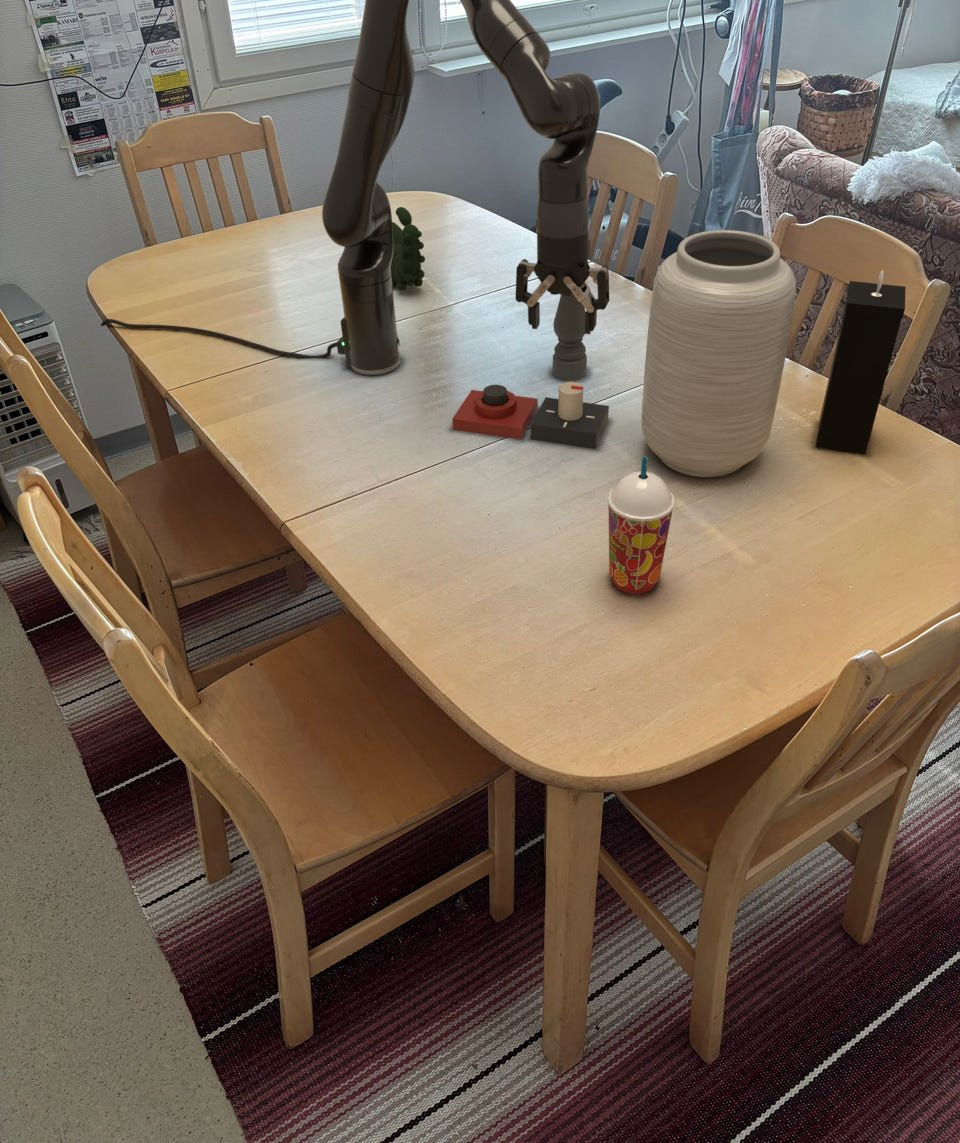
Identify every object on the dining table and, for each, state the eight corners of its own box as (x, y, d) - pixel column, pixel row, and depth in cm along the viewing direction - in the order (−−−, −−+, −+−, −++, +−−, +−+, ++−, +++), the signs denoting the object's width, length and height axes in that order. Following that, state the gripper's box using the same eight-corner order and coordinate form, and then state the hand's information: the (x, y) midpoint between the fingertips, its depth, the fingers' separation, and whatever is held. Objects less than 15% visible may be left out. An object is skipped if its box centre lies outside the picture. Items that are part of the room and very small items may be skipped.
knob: (555, 418, 158) (555, 390, 155) (561, 406, 161) (562, 378, 158) (579, 422, 157) (580, 393, 154) (585, 410, 160) (586, 381, 157)
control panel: (530, 439, 159) (530, 423, 157) (545, 412, 166) (545, 396, 164) (595, 449, 157) (596, 432, 154) (608, 421, 163) (609, 404, 161)
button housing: (453, 429, 163) (451, 409, 160) (472, 400, 170) (471, 380, 167) (521, 439, 159) (521, 419, 157) (537, 409, 167) (537, 389, 164)
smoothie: (598, 564, 134) (605, 442, 121) (657, 559, 135) (670, 437, 122) (609, 603, 128) (617, 479, 115) (671, 598, 128) (686, 474, 115)
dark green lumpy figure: (437, 300, 206) (392, 251, 221) (435, 214, 192) (386, 168, 208) (397, 310, 202) (353, 260, 218) (391, 224, 189) (345, 176, 205)
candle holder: (584, 382, 173) (589, 246, 157) (550, 380, 174) (552, 244, 158) (588, 365, 178) (593, 231, 162) (554, 363, 179) (557, 230, 163)
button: (480, 405, 161) (479, 394, 160) (487, 393, 164) (487, 383, 163) (503, 408, 160) (502, 397, 159) (510, 396, 163) (510, 386, 162)
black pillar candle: (867, 430, 158) (911, 264, 140) (865, 455, 152) (911, 286, 134) (818, 423, 160) (854, 259, 142) (814, 448, 155) (851, 280, 136)
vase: (688, 503, 144) (716, 290, 123) (613, 440, 158) (626, 239, 137) (793, 465, 151) (837, 256, 129) (712, 408, 165) (739, 211, 143)
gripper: (616, 220, 142) (611, 323, 152) (523, 214, 146) (524, 315, 156) (604, 239, 136) (601, 345, 147) (508, 232, 140) (511, 335, 151)
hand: (561, 329), depth 151 cm, fingers open, 8 cm apart
